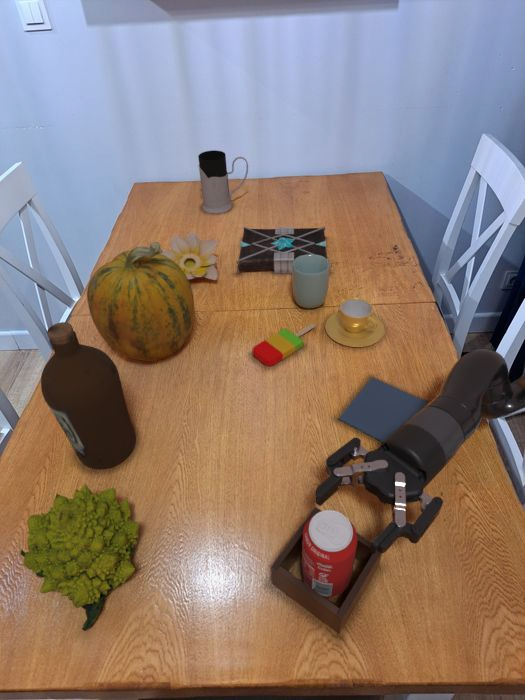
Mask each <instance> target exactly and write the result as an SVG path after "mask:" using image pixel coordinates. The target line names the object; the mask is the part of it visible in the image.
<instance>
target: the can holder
mask: <svg viewBox="0 0 525 700" xmlns="http://www.w3.org/2000/svg"><path fill="white" fill-rule="evenodd" d="M321 511H322V510H321V509H320V508H318V507H317V506H315V507H314V508H313V509H312V510H311V512H310V513H309V515H308V516H307V517H306V518H305V520H304V521H303V522H302V524H301V525H300V527H298V529H297V530H296V532H295V534H294V535H293V536H292V538H291V539H290V540H289V541H288V543H287V544H286V546H284V548H283V549H282V551H281V553H280V554H279V555H278V557H277V558H276V560H275V561H274V562H273V563H272V565H271V566H270V569H271V570H270V571H271V573H270V574H271V584H272V585H273V586H274V587H275V588H277V589H278V590H279V591H281V592H282V593H284V594H285V595H286V596H288V597H289V598H290V599H291V600H293V601H294V602H296V604H298V605H299V606H300V607H302V608H303V609H305V611H307V612H309V613H310V614H312V615H313V616H314V617H316V618H317V619H318V620H320V621H321V622H322V623H323V624H325V625H326V626H328V627H329V628H330V629H332V631H334V632H335V633H337V635H340V634H341V632H342V631H343V629H344V627H345V625H346V624H347V623H348V620H349V619H350V617H351V616H352V613H353V612H354V610H355V609H356V606H357V605H358V603H359V602H360V599H361V598H362V596H363V595H364V592H365V591H366V590H367V587H368V586H369V584H370V582H371V580H372V579H373V577H374V575H375V574H376V572H377V570H378V568H379V566H380V562H381V558H382V554H383V553H382V554H381V553H380V552H379V551H378V552H377V553H376V554H373V553H372V552H371V551H370V547H371V543H372V542H373V541H370V540H369V539H367V538H366V537H364V536H363V535H361V534H359V533H357V532H356V533H357V547H356V553H355V558H354V560H356V561H358V562H360V563H361V564H363V565H364V567H363V569H362V571H361V573H360V574H359V576H358V577H357V579H356V580H355V582H354V584H353V585H352V587H351V589H350V591H349V592H348V594H347V596H346V597H345V599H344V601H343V602H342V604H341V606H340V607H338V606H337V605H336V604H334V603H332V602H331V601H330V600H329V599H327V598H326V597H323V596H321V595H320V594H319V593H317V592H316V591H314V590H313V589H312V588H310V587H309V586H308V585H306V584H305V583H304V581H303V580H301V579H300V578H298V577H296V575H294V574H292V573H291V572H290V570H291V568H292V567H293V566H294V564H295V562H296V561H297V560H298V558H299V557H300V556H301V555H302V541H303V530H304V527H305V524H306V523H307V521H308V520H309V519H310V518H311V517H312V516H314V515H315V514H317V513H319V512H321Z"/></svg>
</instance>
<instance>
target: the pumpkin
mask: <svg viewBox="0 0 525 700" xmlns="http://www.w3.org/2000/svg"><path fill="white" fill-rule="evenodd" d="M148 245H149V246H143V245H142V246H135V247H134V248H133V249H129V250H125V251H122V252H121V253H119V254H117V255H116V256H114V258H113V259H112V260H111V261H110V262H109V261H108V262H107V263H105V264H103V265H102V266H100V267H98V269H97V270H96V271H95V272H94V273H93V275H92V276H91V278H90V279H89V282H88V286H87V292H86V298H87V299H86V300H87V305H88V309H89V313H90V316H91V319H92V322H93V324H94V325H95V327H96V329H97V331H98V333H99V334H100V336H101V337H102V339H103V340H104V341H105V342H106V343H107V344H108V345H109V346H110V347H111V348H112V349H114V350H115V351H116V352H118V353H119V354H121V355H123V356H125V357H127V358H130V359H132V360H136V361H146V362H147V361H151V362H152V361H157V360H162V359H165V358H168V357H169V356H171V355H172V354H173V353H175V352H177V350H179V349H180V348H181V347H182V346H183V345H184V343H185V342H187V339H188V338H189V337H190V334H191V332H192V330H193V324H194V316H195V298H194V293H193V288H192V285H191V283H190V281H189V279H188V278H187V277H186V275H185V273H184V272H183V270H182V269H181V268H180V267H179V266H178V265H177V264H176V263H175V262H174V261H173V260H171V259H170V258H168V257H166V256H164V255H162V254H160V253H162V252H163V251H164V250H163V249H162V248H161V244H160V242H159V241H153V242H150V243H149V244H148Z"/></svg>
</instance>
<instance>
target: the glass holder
mask: <svg viewBox="0 0 525 700" xmlns="http://www.w3.org/2000/svg"><path fill="white" fill-rule="evenodd" d="M197 157H198V163H199V164H198V171H199V179H200V186H201V195H202V202H203V203H202V206H201V207H202V210H203V211H204V212H206V213H207V214H223V213H225V212H228V211H230V210H231V209H232V208H233V203H232V202H231V200H232V196H233V195H234V194H235V193H236V192H237V191H238V190H239V189H240V188H241V187H242V186H243V185H244V183H245V182H246V179H247V177H248V172H249V163H248V161H247V159H246V158H245V157H244V156H237V157H235V158H234V159H233V161H232V162H231V165H232V166H231V171H228V169H227V167H228V166H227V157H226V152H225V151H223V150H216V149H215V150H206V151H202V152H201V153H199V154H198V156H197ZM239 159H242V160H243V161H245V164H246V170H245V175H244V178H243V179H242V181H241V183H240V184H239V185H238V186H237V187H236V188H235V189H234V190H233V191H232V192H231V193H230V183H229V175H231V174H233V173H234V170H235V167H234V165H235V162H236V161H237V160H239Z"/></svg>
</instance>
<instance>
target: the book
mask: <svg viewBox="0 0 525 700" xmlns="http://www.w3.org/2000/svg"><path fill="white" fill-rule="evenodd" d="M325 231H326V226H322V227H308V228H307V227H306V228H295V227H294V226H290V227H289V226H288V227H287V226H285V227H284V226H281V227H279V226H278V227H275V228H248V227H246V226H243V234H242V239H241V241H240V250H239V254H238V259H237V260H236V264H237V267H238V269H237V270H236V271H237V274H241V273H244V272H247V271H249V272H250V271H251V272H252V271H273V273H274V274H292V265H293V261H294V260H295V259H296V258H297V257H299V256H302V255H307V254H315V255H320V256H323V257H325V258H326V259H327V260H328V261H329V262H330V259H329V258H328V254H327V241H326V236H325Z"/></svg>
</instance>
